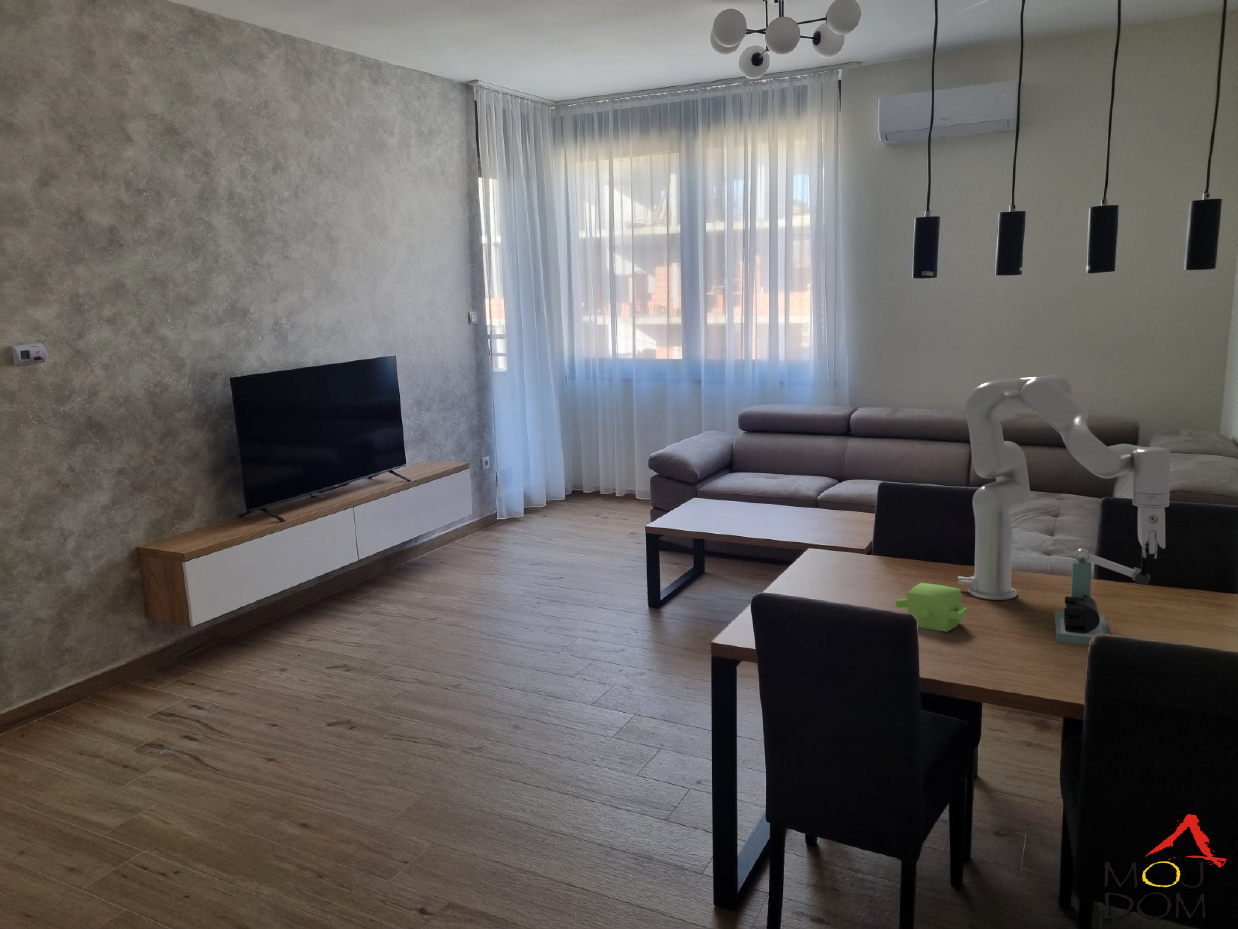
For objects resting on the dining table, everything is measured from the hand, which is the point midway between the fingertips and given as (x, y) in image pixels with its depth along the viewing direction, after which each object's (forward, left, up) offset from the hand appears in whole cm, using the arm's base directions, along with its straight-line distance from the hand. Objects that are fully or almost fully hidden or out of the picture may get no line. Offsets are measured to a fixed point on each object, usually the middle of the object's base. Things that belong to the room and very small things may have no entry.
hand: (1148, 573), depth 213 cm
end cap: (-14, -9, -13) cm, 21 cm away
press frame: (-14, -6, -15) cm, 21 cm away
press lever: (-8, 0, 0) cm, 8 cm away
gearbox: (-49, -11, -15) cm, 52 cm away
